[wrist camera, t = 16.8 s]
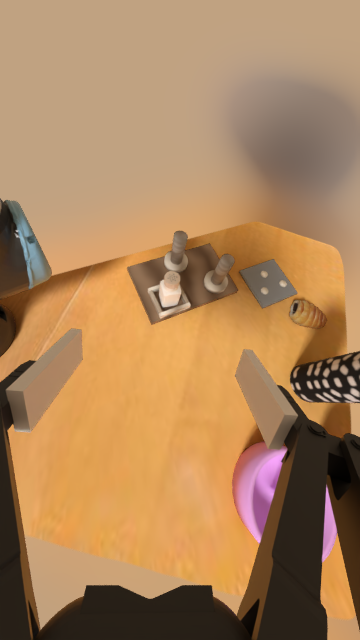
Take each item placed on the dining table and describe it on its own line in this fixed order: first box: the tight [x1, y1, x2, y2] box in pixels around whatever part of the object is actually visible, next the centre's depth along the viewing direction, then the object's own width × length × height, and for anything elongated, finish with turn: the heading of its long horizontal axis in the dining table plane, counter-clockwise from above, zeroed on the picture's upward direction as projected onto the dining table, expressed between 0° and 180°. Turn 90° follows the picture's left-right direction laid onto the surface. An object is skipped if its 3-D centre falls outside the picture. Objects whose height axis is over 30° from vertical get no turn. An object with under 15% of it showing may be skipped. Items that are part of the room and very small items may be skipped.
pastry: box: [289, 300, 327, 328], centre depth 52 cm, size 9×7×4 cm
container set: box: [232, 442, 337, 562], centre depth 33 cm, size 25×15×13 cm, turn 110°
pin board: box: [127, 231, 238, 324], centre depth 47 cm, size 24×16×11 cm, turn 115°
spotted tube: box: [290, 351, 360, 403], centre depth 37 cm, size 8×8×20 cm
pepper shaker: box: [159, 271, 181, 307], centre depth 44 cm, size 4×4×10 cm
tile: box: [239, 259, 297, 309], centre depth 55 cm, size 12×12×1 cm
